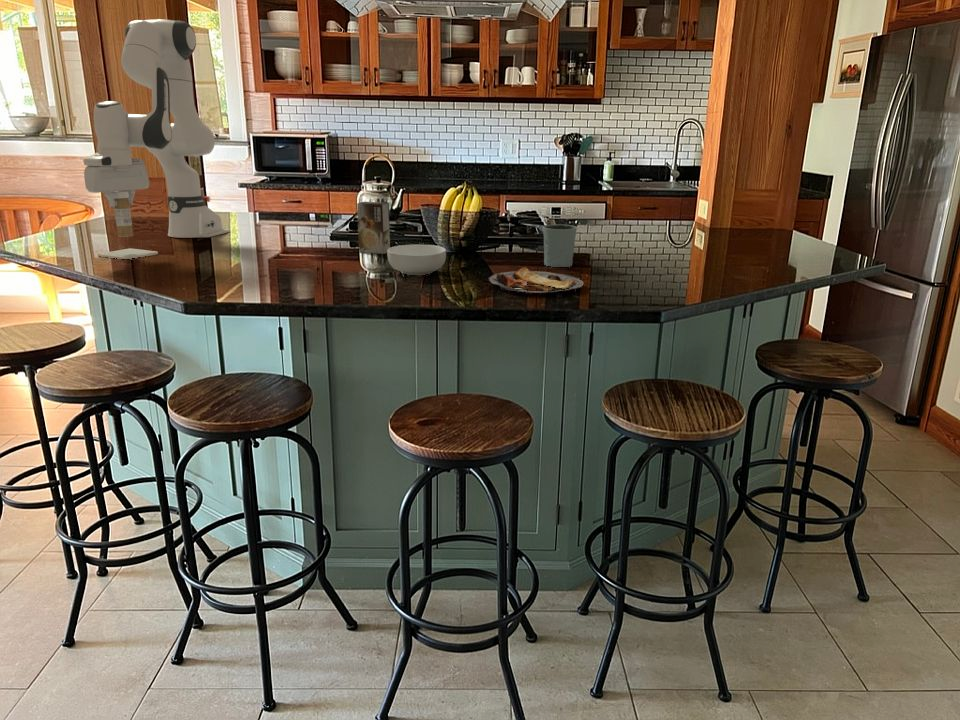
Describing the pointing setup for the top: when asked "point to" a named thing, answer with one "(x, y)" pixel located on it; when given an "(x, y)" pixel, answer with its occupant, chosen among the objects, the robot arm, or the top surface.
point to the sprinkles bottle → (123, 214)
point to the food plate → (535, 280)
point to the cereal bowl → (416, 258)
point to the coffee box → (373, 227)
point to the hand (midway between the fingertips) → (121, 206)
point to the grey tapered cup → (559, 245)
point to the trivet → (128, 253)
